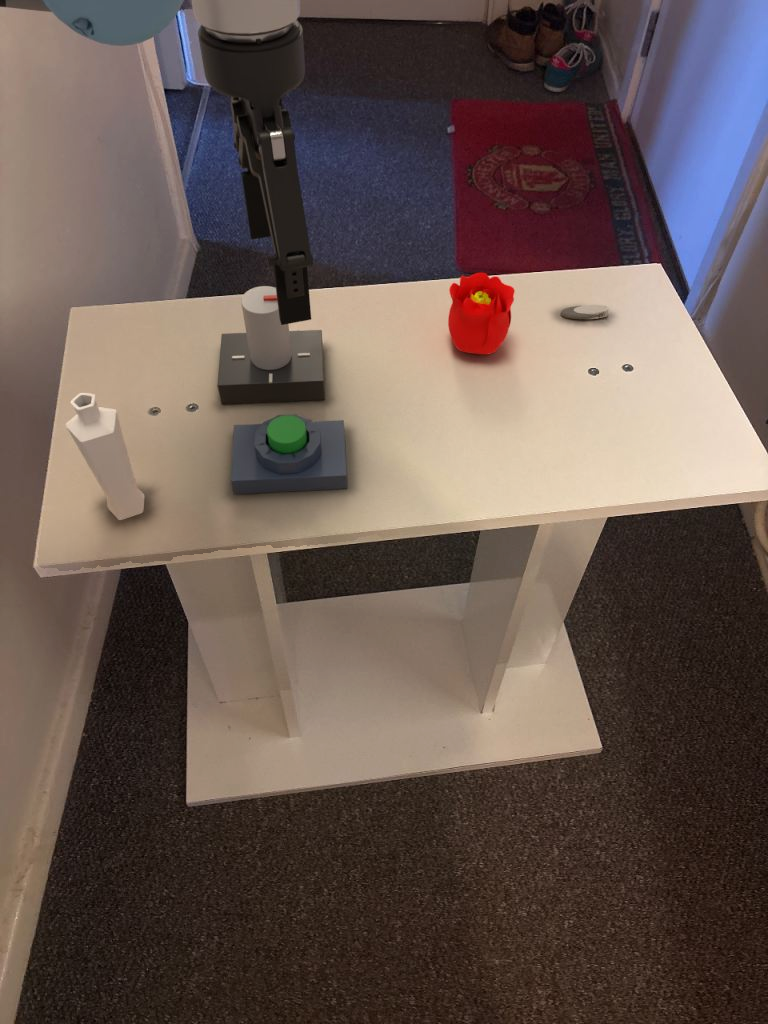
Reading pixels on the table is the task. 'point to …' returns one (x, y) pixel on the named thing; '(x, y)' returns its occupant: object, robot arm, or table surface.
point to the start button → (287, 434)
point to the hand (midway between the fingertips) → (279, 275)
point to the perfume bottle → (106, 454)
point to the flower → (480, 313)
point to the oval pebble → (585, 312)
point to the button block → (289, 459)
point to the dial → (265, 329)
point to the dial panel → (271, 371)
